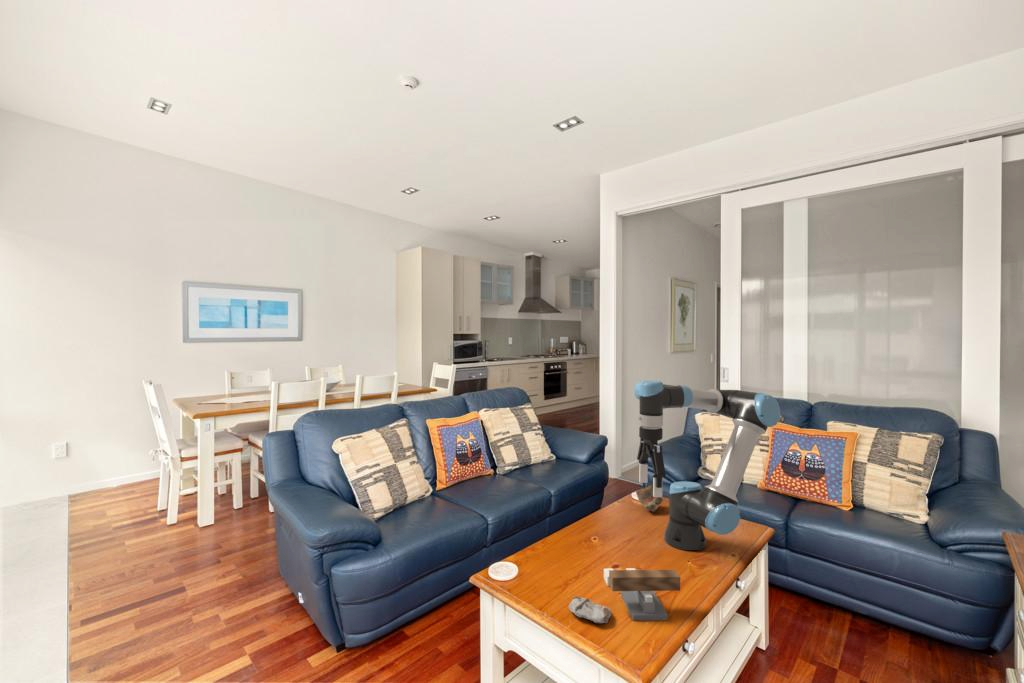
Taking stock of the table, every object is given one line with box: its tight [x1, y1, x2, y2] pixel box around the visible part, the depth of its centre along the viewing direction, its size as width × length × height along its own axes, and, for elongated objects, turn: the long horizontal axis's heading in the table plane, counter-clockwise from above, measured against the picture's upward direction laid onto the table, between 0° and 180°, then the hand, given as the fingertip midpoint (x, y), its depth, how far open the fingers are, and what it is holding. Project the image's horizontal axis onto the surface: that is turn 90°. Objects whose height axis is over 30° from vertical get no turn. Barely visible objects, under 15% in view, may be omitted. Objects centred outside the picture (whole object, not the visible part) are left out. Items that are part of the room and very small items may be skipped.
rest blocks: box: [603, 567, 637, 587], centre depth 143 cm, size 10×5×3 cm, turn 92°
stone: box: [568, 596, 613, 624], centre depth 126 cm, size 12×9×3 cm
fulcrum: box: [620, 591, 669, 621], centre depth 130 cm, size 10×12×6 cm
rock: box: [635, 484, 664, 513], centre depth 202 cm, size 12×12×10 cm
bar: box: [609, 569, 681, 592], centre depth 130 cm, size 20×4×4 cm, turn 92°
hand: (650, 489), depth 148 cm, fingers open, 13 cm apart
